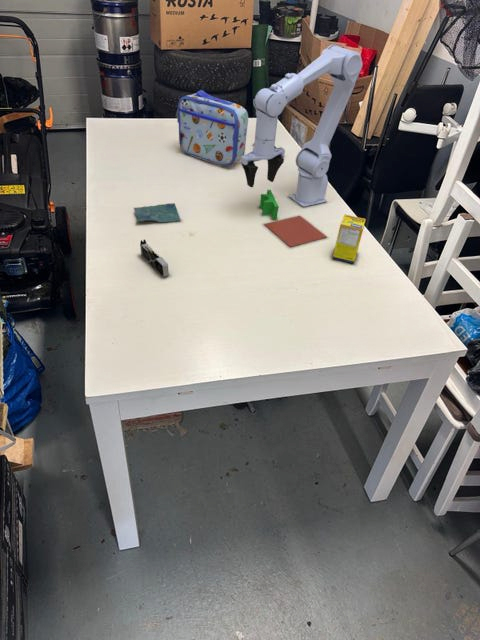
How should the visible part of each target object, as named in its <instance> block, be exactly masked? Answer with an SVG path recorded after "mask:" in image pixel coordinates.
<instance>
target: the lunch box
mask: <svg viewBox="0 0 480 640" xmlns="http://www.w3.org/2000/svg"><path fill="white" fill-rule="evenodd" d="M175 118H177V119H176V120H177V121H176V122H177V124H178V142H179V147H180V149H181V151H183V152H184V153H185V154H186V155H189V156H191V157H193V158H196V159H199V160H202V161H204V162H207V163H212V164H216V165H220V166H223V167H230V166H232V165H233V164H235V163H236V162H241V156H243V155H246V154H245V153H246V145H247V144H246V143H247V134H248V127H249V126H248V125H249V113H248V111H247V109H245V107H243V106H242V105H240V104H237V103H235V102H231V101H228V100H225V99H222V98H218V97H214V96H212V95H210V94H209V93H207V92H206V91H204V90H203V89H200V90H198V91H196V93H192V94H187V95H185V96H182V97H180V99H179V101H178V103H177V111H176V114H175Z"/></svg>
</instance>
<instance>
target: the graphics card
mask: <svg viewBox="0 0 480 640" xmlns="http://www.w3.org/2000/svg"><path fill="white" fill-rule="evenodd" d="M139 247H140V253H141V254H140V257H142V259H144V260H145V261H146V263H148V264H149V265H150V266H151V267H152V268H153V269H154V270H155V271H156V272H157V273H158V274H159V275H160V276H161V277H162V278H166V277H168V276H169V275H170V271H169V263H168V262H167V261H166V260H165V259H164V258H163V257H161V256H160V255H158V254H157V252H155V250H153V248H152V247H151V246H150V245H149V244H148V243H147V241H146V239H141V240H140V244H139Z"/></svg>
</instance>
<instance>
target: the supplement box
mask: <svg viewBox="0 0 480 640" xmlns="http://www.w3.org/2000/svg"><path fill="white" fill-rule="evenodd" d="M366 220H367V219H366V218H364V217H363V218H362V217H359V216H353V215H350V214H343V217H342V219H341V223H340V225H339V228H338V233H337V237H336V242H335V246H334V251H333V255H332V260H336V261H341V262H344V263H349V264H352V265H353V264H355V260H356V258H357V254H358V250H359V247H360V243H361V238H362V236H363V232H364V228H365V224H366Z"/></svg>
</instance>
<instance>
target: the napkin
mask: <svg viewBox="0 0 480 640" xmlns="http://www.w3.org/2000/svg"><path fill="white" fill-rule="evenodd" d="M264 226H265V227H266V228H267V229H269V230H270V232H272V233H273V234H274V235H275V236H277V238H278V239H280V240H281V241H282V242H283V243H284V244H285V245H286V246H288V247H289V248H293V247H296V246H301V245H304V244H308V243H311V242H316V241H320V240H323V239H326V238H327V236H326V235H325V234H324V233H323V232H321V231H320V230H319V229H318V228H317V227H315V226H313V224H312V223H310V222H308V221H307V220H306V219H305V218H304V217H302V216H301V215H298V216H293V217H289V218H284V219H279V220H274V221H271V222H267V223H264Z"/></svg>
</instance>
